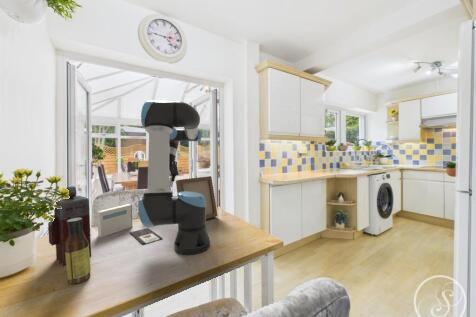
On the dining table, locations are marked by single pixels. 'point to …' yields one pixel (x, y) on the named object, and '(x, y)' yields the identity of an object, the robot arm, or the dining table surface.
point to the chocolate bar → (145, 236)
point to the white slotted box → (114, 219)
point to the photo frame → (202, 187)
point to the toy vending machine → (59, 228)
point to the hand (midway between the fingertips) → (162, 186)
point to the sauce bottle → (77, 252)
